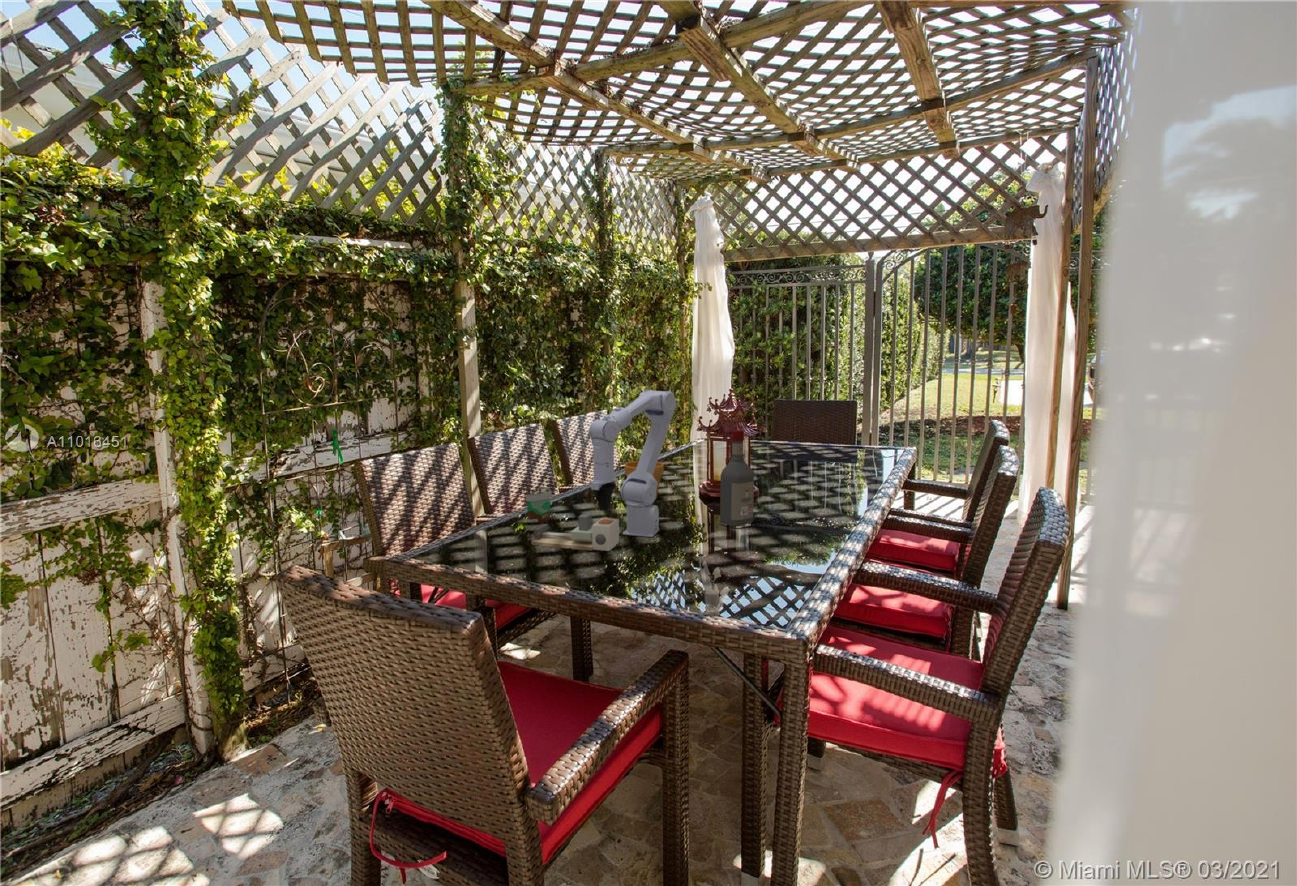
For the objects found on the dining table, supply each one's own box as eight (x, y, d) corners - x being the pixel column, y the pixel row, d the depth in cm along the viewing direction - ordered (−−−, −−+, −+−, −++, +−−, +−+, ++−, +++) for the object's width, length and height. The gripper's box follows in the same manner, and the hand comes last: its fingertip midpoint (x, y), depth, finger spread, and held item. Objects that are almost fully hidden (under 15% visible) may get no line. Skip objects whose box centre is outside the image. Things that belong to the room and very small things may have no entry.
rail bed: (604, 540, 196) (603, 526, 195) (591, 550, 186) (591, 536, 186) (546, 534, 201) (545, 522, 200) (531, 544, 192) (530, 531, 191)
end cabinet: (618, 542, 193) (618, 519, 192) (608, 551, 185) (608, 527, 184) (602, 541, 195) (602, 517, 194) (592, 549, 187) (591, 525, 186)
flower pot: (621, 502, 239) (620, 467, 237) (629, 493, 253) (628, 459, 251) (660, 504, 237) (660, 468, 235) (666, 494, 250) (666, 460, 248)
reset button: (612, 527, 190) (612, 519, 190) (608, 530, 187) (608, 522, 187) (602, 526, 191) (602, 519, 191) (598, 529, 188) (598, 521, 188)
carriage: (599, 536, 194) (599, 513, 193) (590, 543, 188) (590, 519, 186) (580, 534, 196) (579, 511, 195) (570, 541, 189) (570, 517, 188)
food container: (545, 526, 210) (544, 495, 208) (526, 525, 211) (525, 494, 210) (558, 516, 222) (557, 486, 220) (540, 515, 223) (539, 486, 221)
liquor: (757, 525, 210) (759, 430, 205) (735, 530, 205) (736, 433, 200) (737, 518, 217) (739, 427, 213) (716, 523, 212) (717, 429, 208)
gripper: (608, 468, 180) (608, 517, 182) (625, 458, 193) (625, 504, 195) (583, 466, 182) (584, 515, 184) (602, 457, 195) (603, 502, 197)
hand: (604, 509), depth 190 cm, fingers closed
